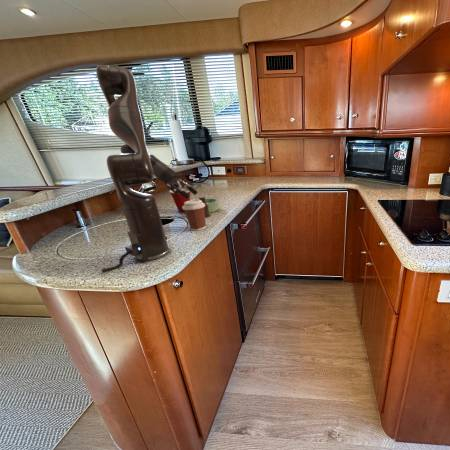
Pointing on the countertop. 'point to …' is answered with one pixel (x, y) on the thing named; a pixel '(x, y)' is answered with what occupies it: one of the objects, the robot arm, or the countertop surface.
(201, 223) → the coffee cup
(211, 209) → the bowl
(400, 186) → the countertop surface
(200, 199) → the muddler
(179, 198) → the plastic cup
